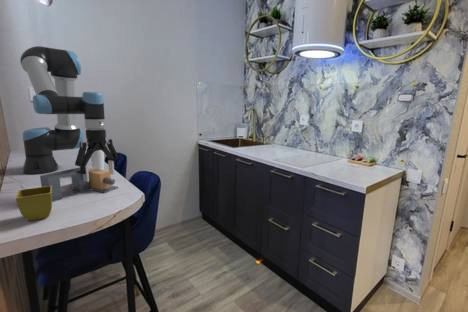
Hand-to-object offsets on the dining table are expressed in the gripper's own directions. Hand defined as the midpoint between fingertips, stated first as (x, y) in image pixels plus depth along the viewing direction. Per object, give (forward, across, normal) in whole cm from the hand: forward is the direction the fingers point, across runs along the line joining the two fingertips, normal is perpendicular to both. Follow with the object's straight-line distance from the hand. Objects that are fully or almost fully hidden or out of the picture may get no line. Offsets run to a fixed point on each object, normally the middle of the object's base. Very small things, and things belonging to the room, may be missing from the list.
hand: (99, 177), depth 109 cm
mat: (+5, 0, +4) cm, 6 cm away
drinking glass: (+5, +16, +22) cm, 28 cm away
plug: (+4, 0, +3) cm, 5 cm away
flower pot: (+5, -29, -8) cm, 31 cm away
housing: (+5, -12, +4) cm, 14 cm away
